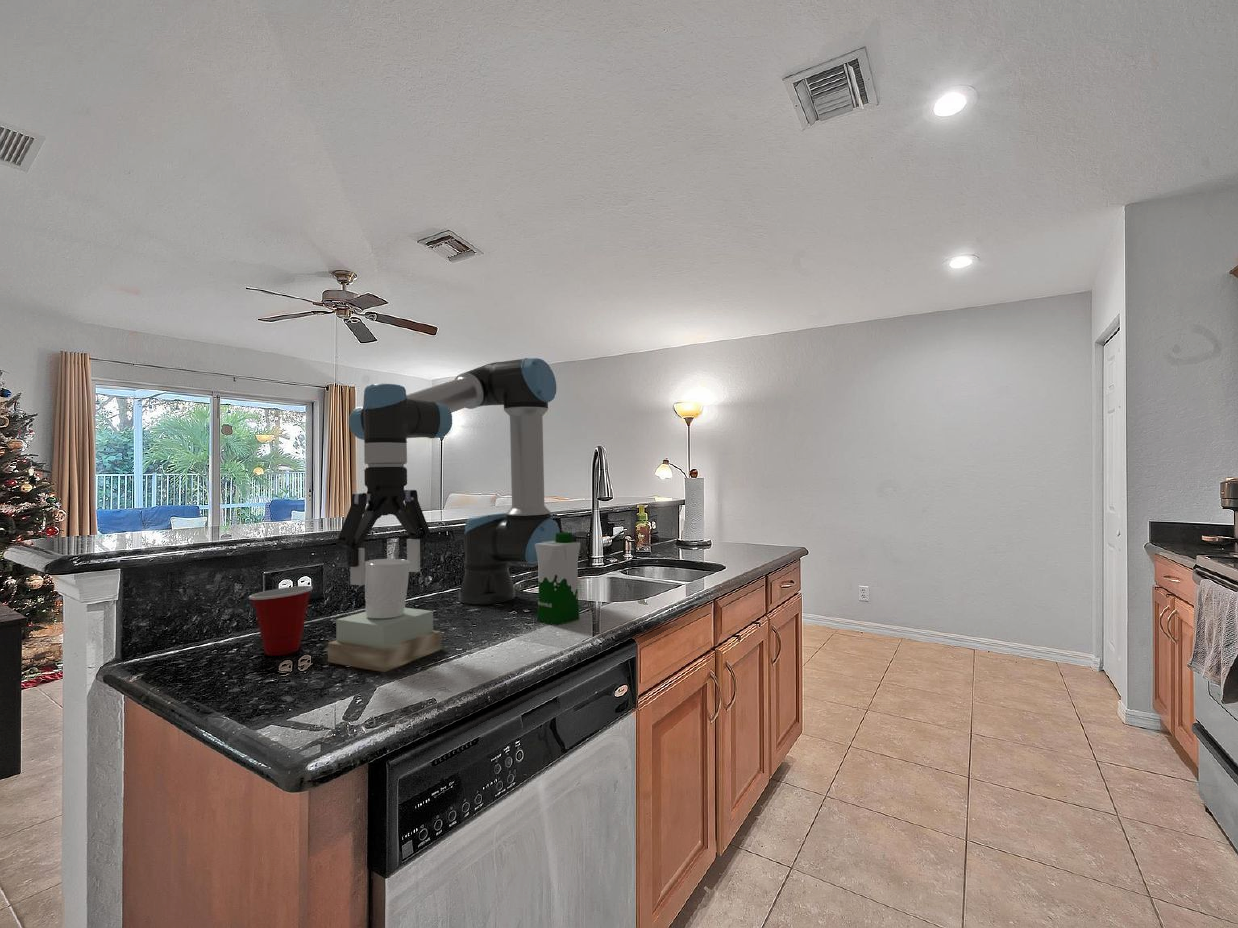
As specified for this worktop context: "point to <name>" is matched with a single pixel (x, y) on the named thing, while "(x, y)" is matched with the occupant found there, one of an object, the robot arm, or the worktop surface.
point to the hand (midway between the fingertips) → (387, 577)
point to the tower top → (384, 628)
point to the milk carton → (558, 580)
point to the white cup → (386, 587)
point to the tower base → (383, 653)
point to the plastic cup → (281, 618)
